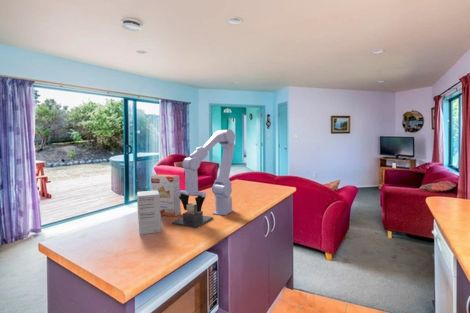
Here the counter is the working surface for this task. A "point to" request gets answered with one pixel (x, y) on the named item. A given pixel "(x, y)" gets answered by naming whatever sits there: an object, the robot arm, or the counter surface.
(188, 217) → the stand
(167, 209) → the cracker box
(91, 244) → the counter surface
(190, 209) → the birch post
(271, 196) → the counter surface
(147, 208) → the supplement box
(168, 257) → the counter surface
